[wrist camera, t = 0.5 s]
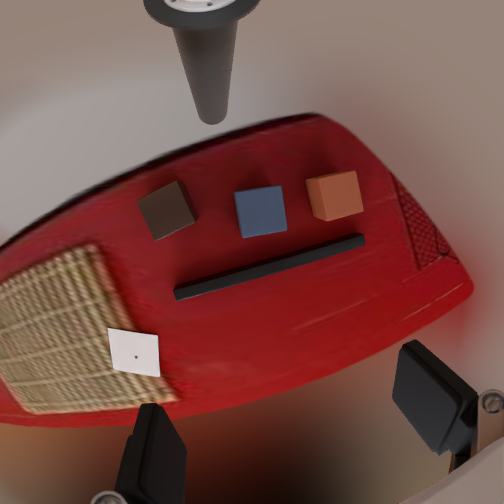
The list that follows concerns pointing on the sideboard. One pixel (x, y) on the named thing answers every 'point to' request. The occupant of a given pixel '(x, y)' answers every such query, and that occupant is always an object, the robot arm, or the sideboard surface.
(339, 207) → the terracotta block
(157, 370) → the coaster
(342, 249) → the rail
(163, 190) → the walnut block
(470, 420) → the robot arm
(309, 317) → the sideboard surface
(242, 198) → the slate blue block
